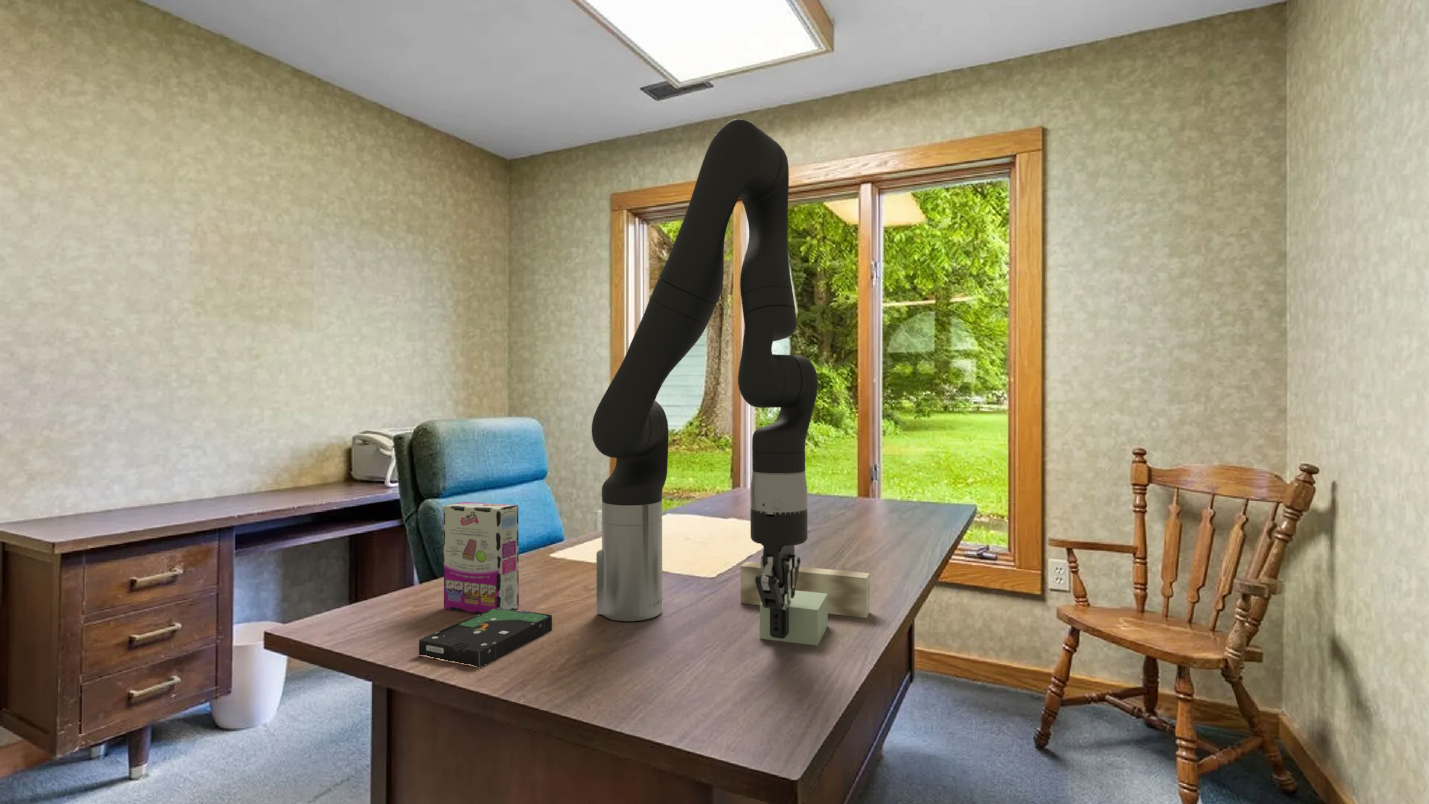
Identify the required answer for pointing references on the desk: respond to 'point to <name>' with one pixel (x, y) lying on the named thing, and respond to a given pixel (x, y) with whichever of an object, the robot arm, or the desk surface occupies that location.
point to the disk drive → (486, 636)
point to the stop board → (818, 588)
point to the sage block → (801, 618)
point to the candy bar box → (481, 557)
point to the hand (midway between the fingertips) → (779, 636)
